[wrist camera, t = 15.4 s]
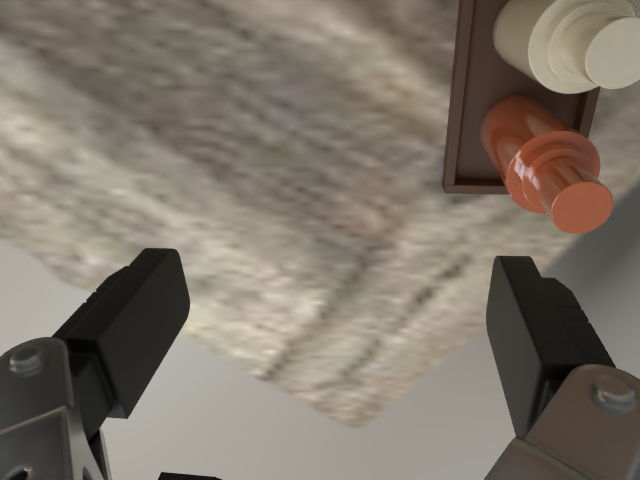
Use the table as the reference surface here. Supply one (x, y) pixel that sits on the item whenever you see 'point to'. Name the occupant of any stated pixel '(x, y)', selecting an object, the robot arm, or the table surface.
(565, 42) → the cream bottle
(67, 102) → the table surface
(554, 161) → the terracotta bottle
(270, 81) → the table surface
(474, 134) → the tray
